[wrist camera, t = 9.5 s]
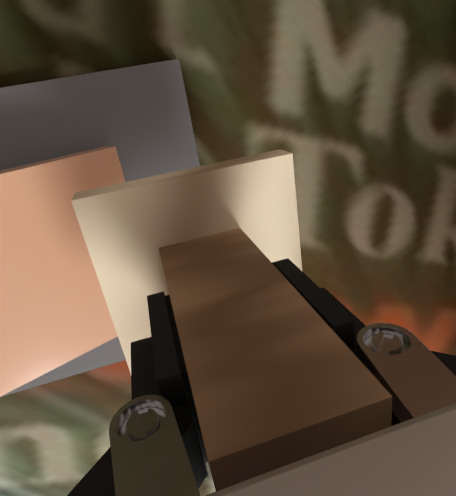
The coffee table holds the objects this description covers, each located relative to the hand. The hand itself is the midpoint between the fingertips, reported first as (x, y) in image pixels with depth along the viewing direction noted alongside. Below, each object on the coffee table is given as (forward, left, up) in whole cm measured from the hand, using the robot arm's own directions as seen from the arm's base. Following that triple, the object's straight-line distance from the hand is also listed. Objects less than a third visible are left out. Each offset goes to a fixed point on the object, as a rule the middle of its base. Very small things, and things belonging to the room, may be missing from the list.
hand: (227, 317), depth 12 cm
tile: (+7, 0, -9) cm, 11 cm away
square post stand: (0, 0, -4) cm, 4 cm away
